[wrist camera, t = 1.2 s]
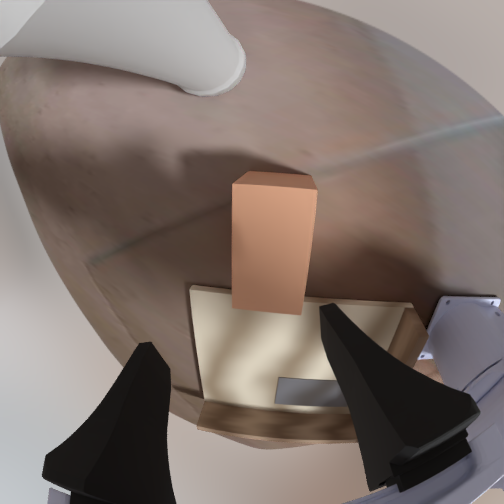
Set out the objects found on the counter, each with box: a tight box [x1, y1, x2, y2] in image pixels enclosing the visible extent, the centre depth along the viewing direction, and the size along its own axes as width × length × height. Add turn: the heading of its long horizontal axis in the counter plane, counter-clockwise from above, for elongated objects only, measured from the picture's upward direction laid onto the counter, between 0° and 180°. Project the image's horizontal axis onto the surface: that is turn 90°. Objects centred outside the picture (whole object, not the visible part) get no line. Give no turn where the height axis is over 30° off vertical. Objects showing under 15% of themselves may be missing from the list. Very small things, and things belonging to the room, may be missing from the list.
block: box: [232, 171, 318, 315], centre depth 18 cm, size 8×4×6 cm, turn 178°
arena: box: [189, 285, 429, 444], centre depth 24 cm, size 20×18×5 cm
